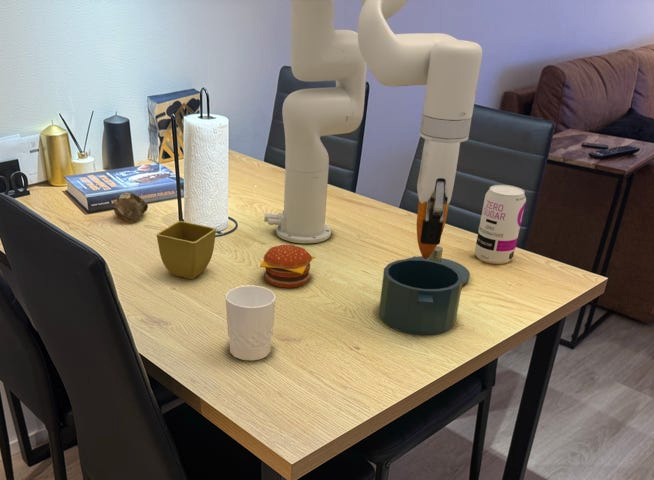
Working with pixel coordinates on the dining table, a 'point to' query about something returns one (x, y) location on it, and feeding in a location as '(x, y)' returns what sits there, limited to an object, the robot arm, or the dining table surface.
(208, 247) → the flower pot
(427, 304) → the pot
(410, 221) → the dining table surface
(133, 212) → the fossilized seashell
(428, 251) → the carrot
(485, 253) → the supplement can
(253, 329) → the white cup
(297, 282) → the hamburger
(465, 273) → the pot lid
